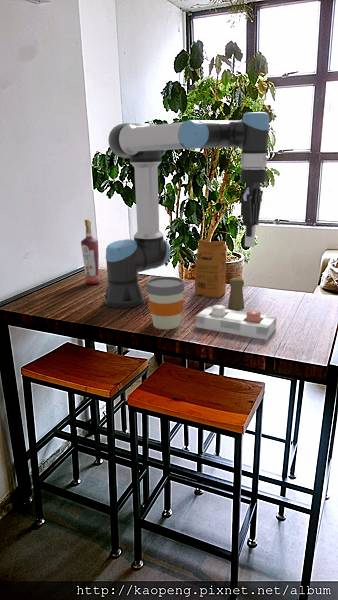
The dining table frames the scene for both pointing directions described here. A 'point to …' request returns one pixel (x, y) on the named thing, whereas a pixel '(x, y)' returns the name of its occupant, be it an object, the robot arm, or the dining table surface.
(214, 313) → the white rounded piece
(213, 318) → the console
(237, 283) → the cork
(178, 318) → the reusable coffee cup
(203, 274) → the coffee package
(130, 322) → the dining table surface
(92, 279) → the liquor
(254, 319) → the salmon rounded knob
